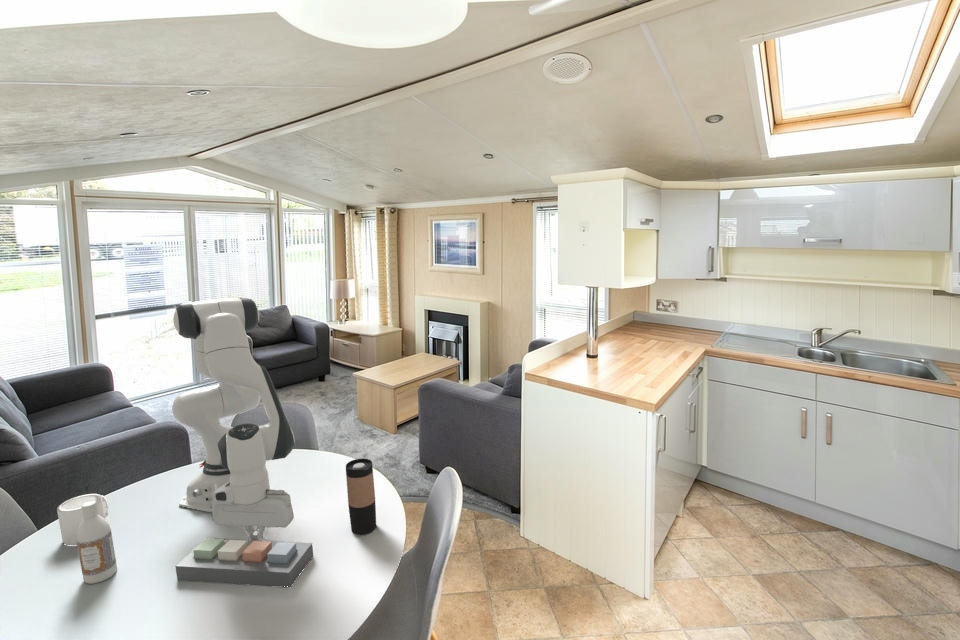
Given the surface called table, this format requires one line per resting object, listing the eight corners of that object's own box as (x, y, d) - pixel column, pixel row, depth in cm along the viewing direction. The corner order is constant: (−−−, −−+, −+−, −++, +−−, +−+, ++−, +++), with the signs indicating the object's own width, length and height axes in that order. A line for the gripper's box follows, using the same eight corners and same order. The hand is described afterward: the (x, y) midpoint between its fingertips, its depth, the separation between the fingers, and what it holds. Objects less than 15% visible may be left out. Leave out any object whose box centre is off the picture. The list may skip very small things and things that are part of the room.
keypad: (177, 580, 124) (175, 564, 123) (209, 551, 136) (207, 536, 135) (290, 587, 120) (288, 571, 119) (313, 556, 132) (312, 542, 131)
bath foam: (77, 587, 123) (64, 512, 120) (92, 569, 130) (80, 498, 127) (109, 581, 125) (97, 508, 121) (122, 564, 131) (111, 494, 128)
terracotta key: (243, 566, 125) (242, 552, 124) (255, 554, 130) (253, 540, 129) (262, 568, 124) (260, 553, 124) (273, 555, 129) (271, 541, 129)
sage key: (195, 564, 127) (193, 549, 126) (208, 552, 132) (206, 538, 131) (212, 565, 126) (211, 550, 126) (225, 553, 131) (223, 539, 130)
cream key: (219, 565, 126) (217, 551, 125) (231, 553, 131) (229, 539, 130) (237, 566, 125) (235, 552, 125) (249, 554, 130) (247, 540, 130)
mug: (89, 521, 154) (83, 489, 152) (122, 519, 154) (117, 487, 152) (53, 547, 140) (47, 512, 139) (90, 545, 141) (84, 510, 139)
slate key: (268, 568, 124) (267, 553, 123) (279, 556, 129) (277, 542, 128) (287, 569, 123) (285, 554, 123) (297, 557, 128) (295, 542, 128)
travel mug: (352, 522, 148) (347, 459, 145) (378, 520, 148) (374, 457, 145) (348, 537, 140) (342, 470, 137) (375, 534, 141) (370, 469, 138)
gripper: (295, 484, 126) (300, 534, 128) (221, 482, 129) (228, 531, 131) (282, 496, 120) (288, 549, 122) (205, 494, 122) (212, 545, 124)
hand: (256, 539), depth 126 cm, fingers closed
